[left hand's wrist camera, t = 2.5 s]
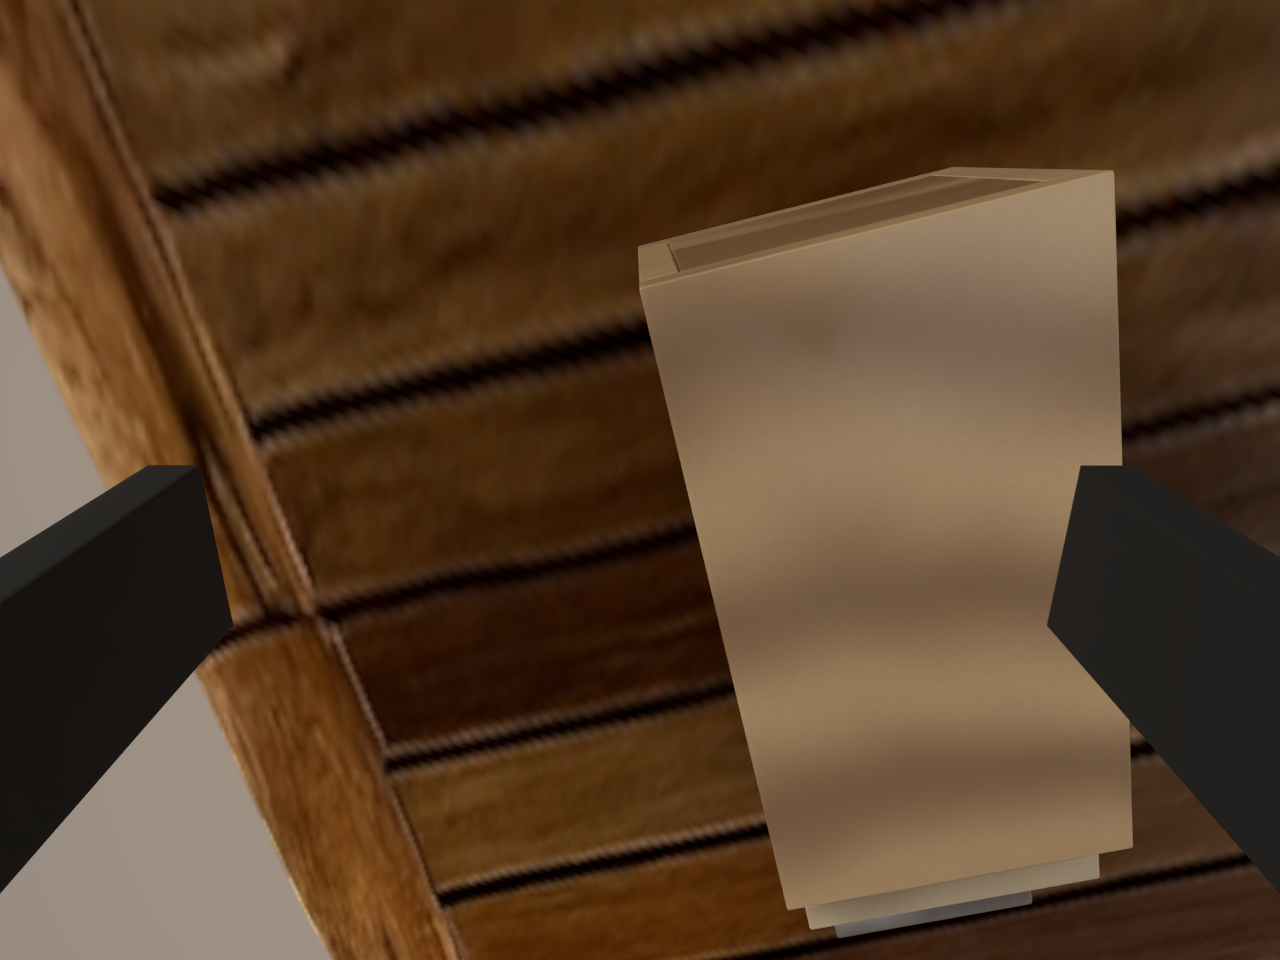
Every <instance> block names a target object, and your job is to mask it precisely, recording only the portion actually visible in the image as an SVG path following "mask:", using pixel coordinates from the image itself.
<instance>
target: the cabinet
mask: <svg viewBox="0 0 1280 960" xmlns="http://www.w3.org/2000/svg"><path fill="white" fill-rule="evenodd" d="M638 261H639V291H640V295H641V299H642V303H643V307H644V312H645V316H646V320H647V324H648V328H649V332H650V337H651V341H652V345H653V349H654V353H655V358H656V362H657V366H658V370H659V374H660V378H661V383H662V387H663V391H664V395H665V399H666V404H667V408H668V412H669V416H670V420H671V425H672V429H673V433H674V437H675V441H676V445H677V450H678V454H679V458H680V462H681V466H682V471H683V475H684V479H685V483H686V487H687V491H688V496H689V500H690V504H691V508H692V512H693V517H694V521H695V525H696V529H697V533H698V538H699V542H700V546H701V550H702V554H703V558H704V563H705V567H706V571H707V575H708V579H709V584H710V588H711V592H712V596H713V600H714V604H715V609H716V613H717V617H718V621H719V625H720V630H721V634H722V638H723V642H724V646H725V651H726V655H727V659H728V663H729V667H730V671H731V676H732V680H733V684H734V688H735V692H736V697H737V701H738V705H739V709H740V713H741V717H742V722H743V726H744V730H745V734H746V738H747V743H748V747H749V751H750V755H751V759H752V764H753V768H754V772H755V776H756V780H757V784H758V789H759V793H760V797H761V801H762V805H763V810H764V814H765V818H766V822H767V826H768V830H769V835H770V839H771V843H772V847H773V851H774V856H775V860H776V864H777V868H778V872H779V877H780V881H781V885H782V889H783V893H784V897H785V902H786V906H787V909H788V910H792V909H798V908H804V907H809V906H815V905H820V904H826V903H831V902H837V901H842V900H848V899H853V898H859V897H864V896H870V895H875V894H881V893H886V892H892V891H897V890H903V889H908V888H914V887H919V886H925V885H930V884H936V883H941V882H947V881H952V880H958V879H963V878H969V877H974V876H980V875H985V874H991V873H996V872H1002V871H1007V870H1013V869H1018V868H1024V867H1030V866H1035V865H1041V864H1046V863H1052V862H1057V861H1063V860H1068V859H1074V858H1079V857H1085V856H1090V855H1096V854H1101V853H1107V852H1112V851H1118V850H1123V849H1129V848H1132V847H1133V834H1132V798H1131V762H1130V726H1129V719H1128V718H1127V717H1126V716H1125V715H1124V714H1123V713H1122V711H1121V710H1120V709H1119V708H1118V707H1117V706H1116V705H1115V703H1114V702H1113V701H1112V700H1111V699H1110V698H1109V697H1108V695H1107V694H1106V693H1105V692H1104V691H1103V690H1102V688H1101V687H1100V686H1099V685H1098V684H1097V683H1096V682H1095V680H1094V679H1093V678H1092V677H1091V676H1090V675H1089V674H1088V672H1087V671H1086V670H1085V669H1084V668H1083V667H1082V665H1081V664H1080V663H1079V662H1078V661H1077V660H1076V659H1075V657H1074V656H1073V655H1072V654H1071V653H1070V652H1069V651H1068V649H1067V648H1066V647H1065V646H1064V645H1063V644H1062V642H1061V641H1060V640H1059V639H1058V638H1057V637H1056V636H1055V634H1054V633H1053V632H1052V631H1051V630H1050V629H1049V628H1048V626H1047V622H1048V617H1049V612H1050V608H1051V603H1052V598H1053V594H1054V589H1055V584H1056V579H1057V575H1058V570H1059V565H1060V560H1061V556H1062V551H1063V546H1064V542H1065V537H1066V532H1067V527H1068V523H1069V518H1070V513H1071V509H1072V504H1073V499H1074V494H1075V490H1076V485H1077V480H1078V475H1079V471H1080V466H1081V465H1122V437H1121V401H1120V365H1119V329H1118V293H1117V257H1116V221H1115V185H1114V171H1111V170H1062V169H1015V168H968V167H951V168H947V169H943V170H939V171H935V172H931V173H927V174H923V175H919V176H915V177H911V178H907V179H903V180H899V181H895V182H891V183H887V184H883V185H879V186H875V187H871V188H867V189H863V190H859V191H855V192H852V193H848V194H844V195H840V196H836V197H832V198H828V199H824V200H820V201H816V202H812V203H808V204H804V205H800V206H796V207H792V208H788V209H784V210H780V211H776V212H772V213H768V214H764V215H760V216H756V217H752V218H748V219H744V220H740V221H736V222H732V223H728V224H724V225H720V226H716V227H712V228H709V229H705V230H701V231H697V232H693V233H689V234H685V235H681V236H677V237H673V238H669V239H665V240H661V241H657V242H653V243H649V244H645V245H641V246H639V247H638Z"/></svg>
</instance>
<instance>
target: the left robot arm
mask: <svg viewBox="0 0 1280 960" xmlns="http://www.w3.org/2000/svg"><path fill="white" fill-rule="evenodd" d="M232 626H233V622H232V617H231V612H230V608H229V603H228V598H227V594H226V589H225V584H224V579H223V575H222V570H221V565H220V560H219V556H218V551H217V546H216V542H215V537H214V532H213V527H212V523H211V518H210V513H209V509H208V504H207V499H206V494H205V490H204V485H203V480H202V475H201V471H200V466H199V465H148V466H146V467H145V468H143V469H142V470H140V471H138V472H137V473H135V474H133V475H132V476H130V477H129V478H127V479H125V480H124V481H122V482H121V483H119V484H117V485H116V486H114V487H113V488H111V489H109V490H108V491H106V492H105V493H103V494H101V495H100V496H98V497H97V498H95V499H94V500H92V501H90V502H89V503H87V504H85V505H84V506H82V507H81V508H79V509H77V510H76V511H74V512H73V513H71V514H69V515H68V516H66V517H65V518H63V519H62V520H60V521H58V522H57V523H55V524H53V525H52V526H50V527H49V528H47V529H46V530H44V531H42V532H41V533H39V534H37V535H36V536H34V537H33V538H31V539H29V540H28V541H26V542H25V543H23V544H22V545H20V546H18V547H17V548H15V549H13V550H12V551H10V552H9V553H7V554H5V555H4V556H2V557H1V558H0V893H1V892H2V891H3V890H4V888H5V887H6V886H7V885H8V884H9V883H10V882H11V880H12V879H13V878H14V877H15V876H16V875H17V873H18V872H19V871H20V870H21V869H22V868H23V867H24V865H25V864H26V863H27V862H28V861H29V860H30V858H31V857H32V856H33V855H34V854H35V853H36V852H37V850H38V849H39V848H40V847H41V846H42V845H43V844H44V842H45V841H46V840H47V839H48V838H49V837H50V836H51V834H52V833H53V832H54V831H55V830H56V829H57V828H58V826H59V825H60V824H61V823H62V822H63V821H64V819H65V818H66V817H67V816H68V815H69V814H70V813H71V811H72V810H73V809H74V808H75V807H76V806H77V805H78V803H79V802H80V801H81V800H82V799H83V798H84V796H85V795H86V794H87V793H88V792H89V791H90V790H91V788H92V787H93V786H94V785H95V784H96V783H97V782H98V780H99V779H100V778H101V777H102V776H103V775H104V773H105V772H106V771H107V770H108V769H109V768H110V767H111V765H112V764H113V763H114V762H115V761H116V760H117V759H118V757H119V756H120V755H121V754H122V753H123V752H124V751H125V749H126V748H127V747H128V746H129V745H130V744H131V742H132V741H133V740H134V739H135V738H136V737H137V736H138V734H139V733H140V732H141V731H142V730H143V729H144V727H145V726H146V725H147V724H148V723H149V722H150V721H151V719H152V718H153V717H154V716H155V715H156V714H157V713H158V711H159V710H160V709H161V708H162V707H163V706H164V705H165V703H166V702H167V701H168V700H169V699H170V698H171V697H172V695H173V694H174V693H175V692H176V691H177V690H178V688H179V687H180V686H181V685H182V684H183V683H184V682H185V680H186V679H187V678H188V677H189V676H190V675H191V673H192V672H193V671H194V670H195V669H196V668H197V667H198V665H199V664H200V663H201V662H202V661H203V660H204V659H205V657H206V656H207V655H208V654H209V653H210V652H211V651H212V649H213V648H214V647H215V646H216V645H217V644H218V642H219V641H220V640H221V639H222V638H223V637H224V636H225V634H226V633H227V632H228V631H229V630H230V629H231V628H232ZM1047 626H1048V628H1049V629H1050V630H1051V631H1052V632H1053V633H1054V634H1055V636H1056V637H1057V638H1058V639H1059V640H1060V641H1061V642H1062V644H1063V645H1064V646H1065V647H1066V648H1067V649H1068V651H1069V652H1070V653H1071V654H1072V655H1073V656H1074V657H1075V659H1076V660H1077V661H1078V662H1079V663H1080V664H1081V665H1082V667H1083V668H1084V669H1085V670H1086V671H1087V672H1088V674H1089V675H1090V676H1091V677H1092V678H1093V679H1094V680H1095V682H1096V683H1097V684H1098V685H1099V686H1100V687H1101V688H1102V690H1103V691H1104V692H1105V693H1106V694H1107V695H1108V697H1109V698H1110V699H1111V700H1112V701H1113V702H1114V703H1115V705H1116V706H1117V707H1118V708H1119V709H1120V710H1121V711H1122V713H1123V714H1124V715H1125V716H1126V717H1127V718H1128V719H1129V721H1130V722H1131V723H1132V724H1133V725H1134V726H1135V728H1136V729H1137V730H1138V731H1139V732H1140V733H1141V734H1142V736H1143V737H1144V738H1145V739H1146V740H1147V741H1148V742H1149V744H1150V745H1151V746H1152V747H1153V748H1154V749H1155V751H1156V752H1157V753H1158V754H1159V755H1160V756H1161V757H1162V759H1163V760H1164V761H1165V762H1166V763H1167V764H1168V765H1169V767H1170V768H1171V769H1172V770H1173V771H1174V772H1175V774H1176V775H1177V776H1178V777H1179V778H1180V779H1181V780H1182V782H1183V783H1184V784H1185V785H1186V786H1187V787H1188V788H1189V790H1190V791H1191V792H1192V793H1193V794H1194V795H1195V796H1196V798H1197V799H1198V800H1199V801H1200V802H1201V803H1202V805H1203V806H1204V807H1205V808H1206V809H1207V810H1208V811H1209V813H1210V814H1211V815H1212V816H1213V817H1214V818H1215V819H1216V821H1217V822H1218V823H1219V824H1220V825H1221V826H1222V828H1223V829H1224V830H1225V831H1226V832H1227V833H1228V834H1229V836H1230V837H1231V838H1232V839H1233V840H1234V841H1235V842H1236V844H1237V845H1238V846H1239V847H1240V848H1241V849H1242V850H1243V852H1244V853H1245V854H1246V855H1247V856H1248V857H1249V859H1250V860H1251V861H1252V862H1253V863H1254V864H1255V865H1256V867H1257V868H1258V869H1259V870H1260V871H1261V872H1262V873H1263V875H1264V876H1265V877H1266V878H1267V879H1268V880H1269V882H1270V883H1271V884H1272V885H1273V886H1274V887H1275V888H1276V890H1277V891H1278V892H1279V893H1280V558H1279V557H1278V556H1276V555H1275V554H1273V553H1271V552H1270V551H1268V550H1267V549H1265V548H1263V547H1262V546H1260V545H1259V544H1257V543H1255V542H1254V541H1252V540H1251V539H1249V538H1247V537H1246V536H1244V535H1243V534H1241V533H1239V532H1238V531H1236V530H1235V529H1233V528H1231V527H1230V526H1228V525H1227V524H1225V523H1223V522H1222V521H1220V520H1219V519H1217V518H1215V517H1214V516H1212V515H1211V514H1209V513H1207V512H1206V511H1204V510H1203V509H1201V508H1199V507H1198V506H1196V505H1195V504H1193V503H1191V502H1190V501H1188V500H1187V499H1185V498H1183V497H1182V496H1180V495H1179V494H1177V493H1175V492H1174V491H1172V490H1171V489H1169V488H1167V487H1166V486H1164V485H1163V484H1161V483H1159V482H1158V481H1156V480H1155V479H1153V478H1151V477H1150V476H1148V475H1147V474H1145V473H1143V472H1142V471H1140V470H1138V469H1137V468H1135V467H1134V466H1132V465H1081V466H1080V471H1079V475H1078V480H1077V485H1076V490H1075V494H1074V499H1073V504H1072V509H1071V513H1070V518H1069V523H1068V527H1067V532H1066V537H1065V542H1064V546H1063V551H1062V556H1061V560H1060V565H1059V570H1058V575H1057V579H1056V584H1055V589H1054V594H1053V598H1052V603H1051V608H1050V612H1049V617H1048V622H1047Z"/></svg>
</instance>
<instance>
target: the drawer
mask: <svg viewBox="0 0 1280 960" xmlns="http://www.w3.org/2000/svg"><path fill="white" fill-rule="evenodd" d="M1099 877H1100V875H1099V855H1098V854H1096V855H1090V856H1085V857H1079V858H1074V859H1068V860H1063V861H1057V862H1052V863H1046V864H1041V865H1035V866H1030V867H1024V868H1018V869H1013V870H1007V871H1002V872H996V873H991V874H985V875H980V876H974V877H969V878H963V879H958V880H952V881H947V882H941V883H936V884H930V885H925V886H919V887H914V888H908V889H903V890H897V891H892V892H886V893H881V894H875V895H870V896H864V897H859V898H853V899H848V900H842V901H837V902H831V903H826V904H820V905H815V906H809V907H805V909H806V914H807V918H808V922H809V927H810V929H812V930H813V929H819V928H824V927H830V926H834V928H835V931H836V935H837V937H838V938H842V937H848V936H853V935H859V934H864V933H870V932H876V931H881V930H887V929H893V928H898V927H904V926H909V925H915V924H921V923H926V922H932V921H938V920H943V919H949V918H954V917H960V916H966V915H971V914H977V913H983V912H988V911H994V910H999V909H1005V908H1011V907H1016V906H1022V905H1028V904H1031V903H1032V894H1031V890H1036V889H1042V888H1048V887H1053V886H1059V885H1064V884H1070V883H1075V882H1081V881H1087V880H1092V879H1098V878H1099Z"/></svg>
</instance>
